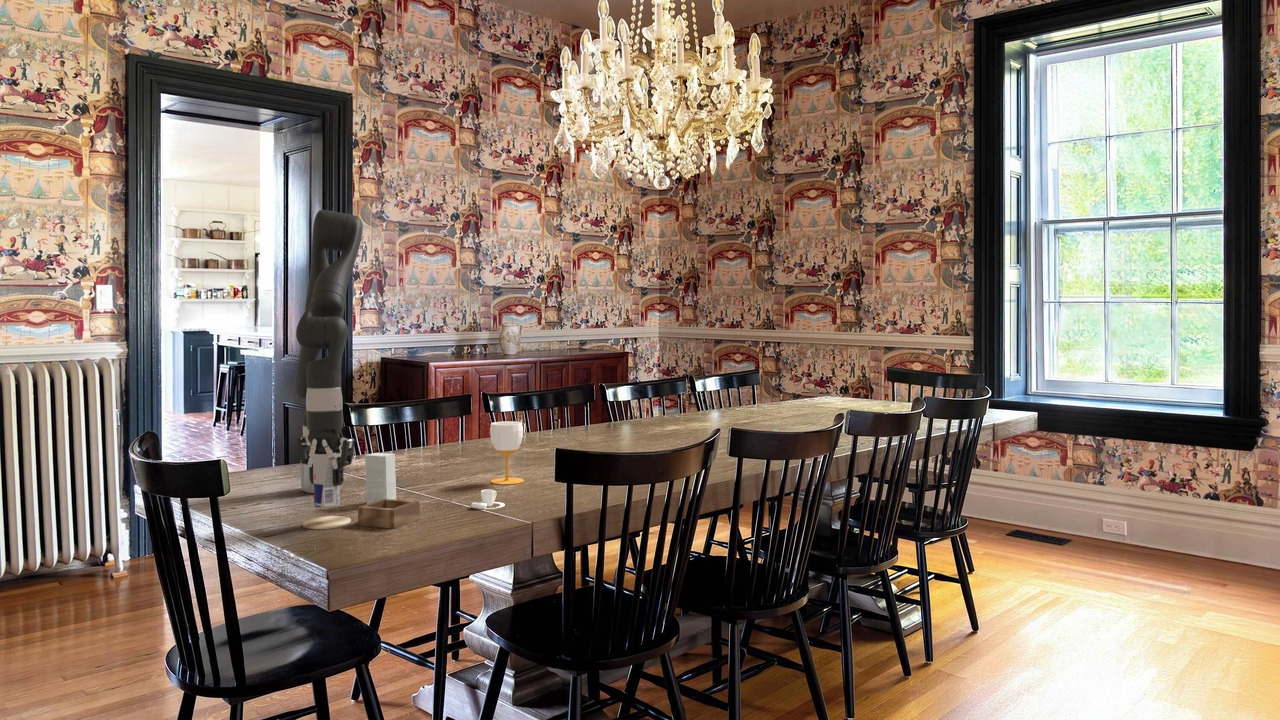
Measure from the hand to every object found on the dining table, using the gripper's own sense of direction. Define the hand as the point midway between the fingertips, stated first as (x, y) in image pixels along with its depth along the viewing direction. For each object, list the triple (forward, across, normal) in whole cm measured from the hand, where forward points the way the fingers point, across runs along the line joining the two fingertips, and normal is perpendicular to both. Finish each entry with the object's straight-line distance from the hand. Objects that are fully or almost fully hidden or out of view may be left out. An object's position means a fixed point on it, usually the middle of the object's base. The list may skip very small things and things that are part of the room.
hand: (326, 484), depth 200 cm
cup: (+9, +14, +56) cm, 58 cm away
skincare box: (+9, -2, +22) cm, 24 cm away
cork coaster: (+9, 0, 0) cm, 9 cm away
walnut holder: (+9, +12, +6) cm, 16 cm away
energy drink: (+5, 0, 0) cm, 5 cm away
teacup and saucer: (+10, +21, +27) cm, 36 cm away
